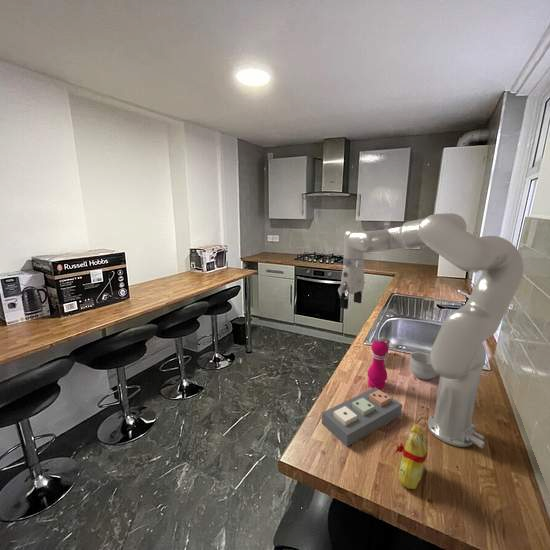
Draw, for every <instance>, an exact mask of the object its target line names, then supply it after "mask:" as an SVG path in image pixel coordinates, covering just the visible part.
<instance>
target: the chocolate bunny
mask: <svg viewBox="0 0 550 550" xmlns="http://www.w3.org/2000/svg"><path fill="white" fill-rule="evenodd" d="M426 440H427V439H426V437H425V435H424V433H423V429H422V427H421V426H420V425H419V424H414V425H413V426H412V427H411V429H410V431H409V436H408V438H407V440H406V441H405V444H404V445H403V443H400V445H397V446H396V450H395V452H394V453H395V454H397V453H398V452H399V453H402V456H401V462H400V466H399V472H398V477H397V478H398V479H397V480H398V481H399V482H400V484H401V485H402V486H403V487H404V488H406V489H410V490H411V489H413V490H416V488H417V486H418V484H419V483H420V481H421V479H422V476H423V474H424V466H425V461H426V459H427V457H428V451H427V441H426Z"/></svg>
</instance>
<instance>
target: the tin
mask: <svg viewBox="0 0 550 550" xmlns="http://www.w3.org/2000/svg"><path fill="white" fill-rule="evenodd" d="M383 341H384V342H385V343H386V344H387V345H388V352H389V349H390V343H391V342H390V340H389V339H386V338H383ZM388 352H387V353H386V356H387V355H388V354H389V353H388Z"/></svg>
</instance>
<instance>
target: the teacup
mask: <svg viewBox="0 0 550 550" xmlns="http://www.w3.org/2000/svg"><path fill="white" fill-rule="evenodd" d="M409 356H410V357H409V370H410V371H411V373H412V374H413V375H414V376H415V377H417V378H419V379H421V380H432V379H434V378H436V377H440V375H438V374H437V373H436V372H435V371H434V369H433V368H432V366H431V363H430V353H426V352H417V351H416V352H413V353H411V354H410V355H409Z"/></svg>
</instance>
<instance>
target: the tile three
mask: <svg viewBox="0 0 550 550" xmlns="http://www.w3.org/2000/svg"><path fill="white" fill-rule="evenodd" d="M386 394H387V393H385V392H384V393H383V391H382V390H377V391H375V392H373V393H371V394H369V400H371V401H372V402H373V403H375V404H376V405H378V406H379V407H383V406H385V405H387V404H389V403H390V402H391V398H392V397H391V396H390V395H389V394H387V395H386ZM389 396H390V397H389Z"/></svg>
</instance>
